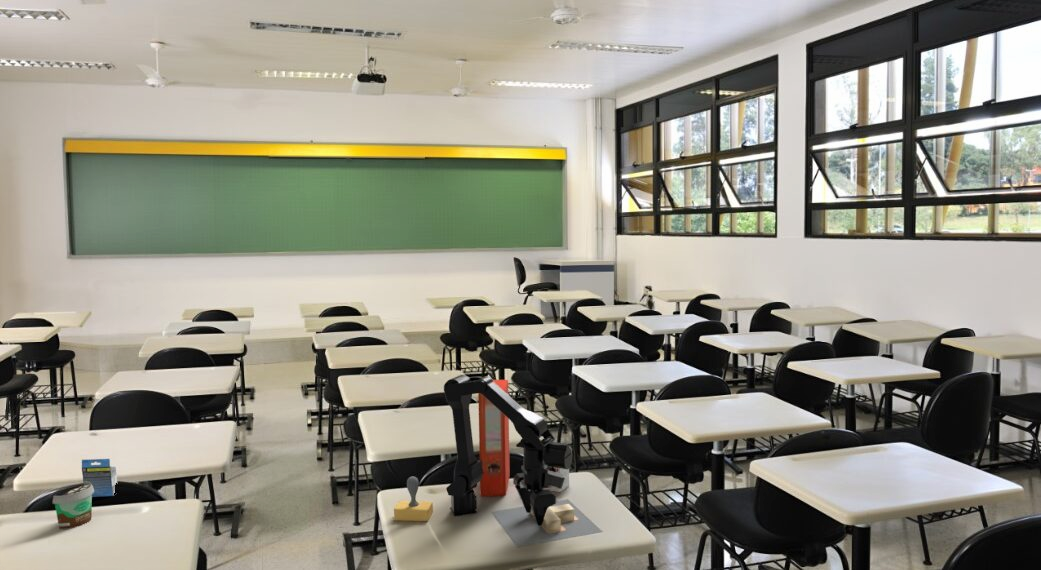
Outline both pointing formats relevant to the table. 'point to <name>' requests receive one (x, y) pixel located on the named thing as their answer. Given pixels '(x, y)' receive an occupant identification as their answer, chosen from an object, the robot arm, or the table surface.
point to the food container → (74, 506)
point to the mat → (529, 533)
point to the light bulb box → (566, 482)
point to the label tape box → (100, 476)
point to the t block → (556, 517)
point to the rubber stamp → (413, 505)
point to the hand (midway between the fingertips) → (534, 518)
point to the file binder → (493, 446)
